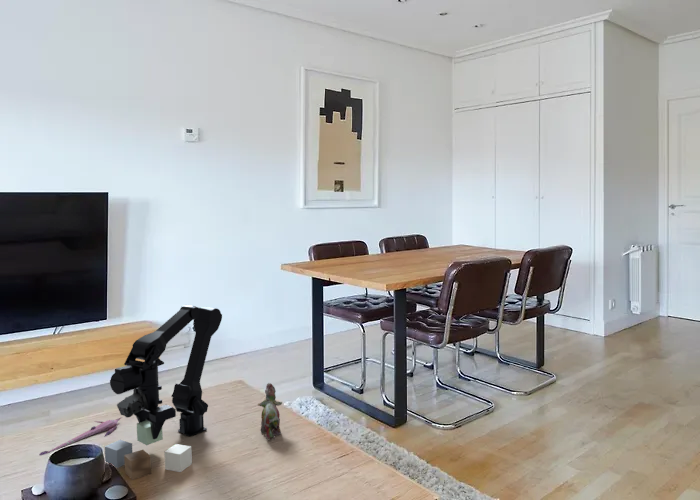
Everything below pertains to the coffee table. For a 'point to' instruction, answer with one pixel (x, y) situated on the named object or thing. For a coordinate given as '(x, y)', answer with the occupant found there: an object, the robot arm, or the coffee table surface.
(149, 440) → the sage block
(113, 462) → the slate block
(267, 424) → the figurine
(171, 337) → the robot arm
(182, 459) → the cream block
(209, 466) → the coffee table surface
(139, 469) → the walnut block
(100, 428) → the toy
